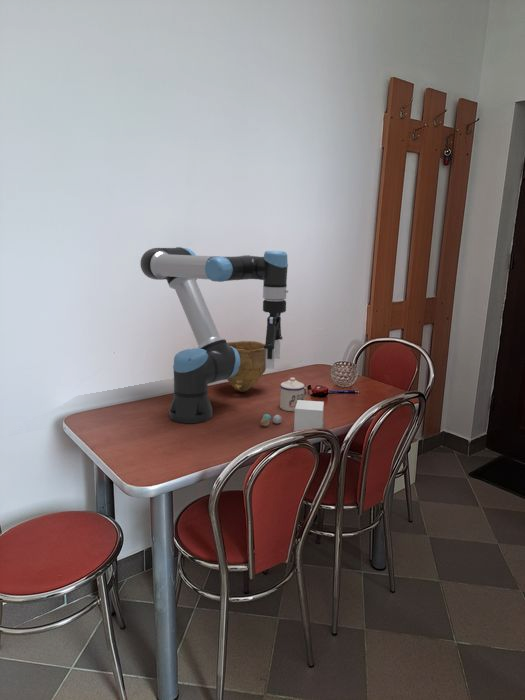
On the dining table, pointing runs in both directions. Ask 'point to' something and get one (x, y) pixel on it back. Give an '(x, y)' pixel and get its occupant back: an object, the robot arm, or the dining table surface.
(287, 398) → the teacup with lid
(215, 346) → the robot arm
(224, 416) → the dining table surface
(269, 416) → the teal ball
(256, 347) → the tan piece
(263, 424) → the cork ball
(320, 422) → the cover
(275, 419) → the grey ball
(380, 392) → the dining table surface
